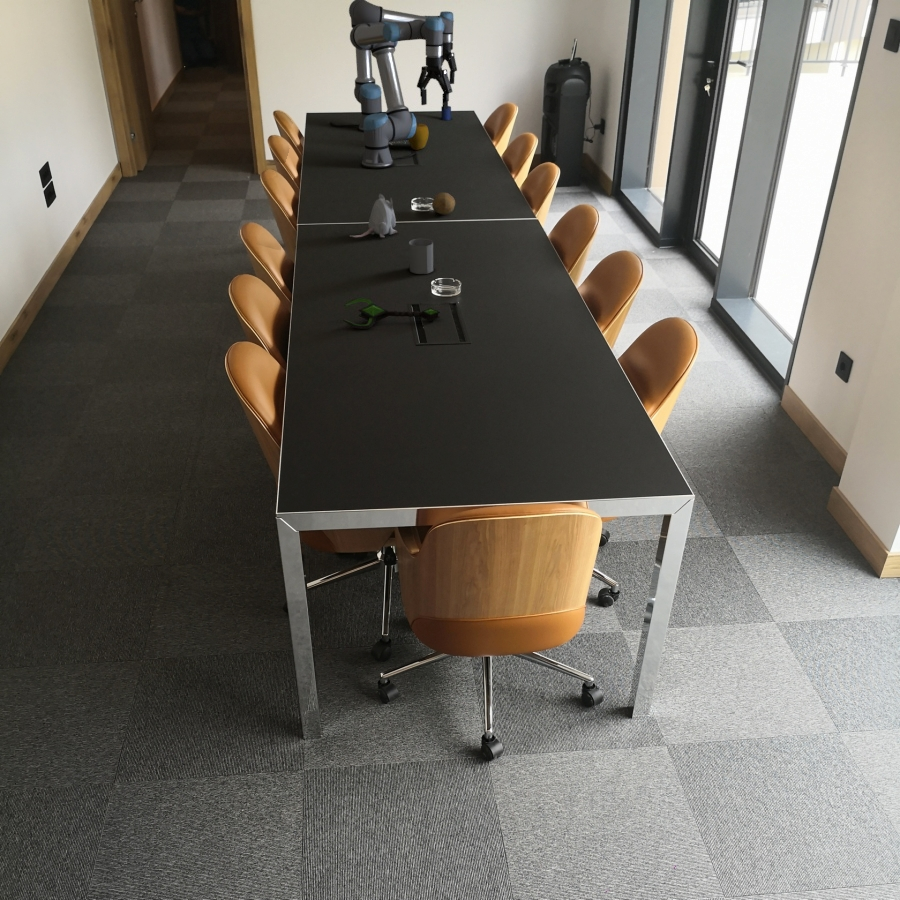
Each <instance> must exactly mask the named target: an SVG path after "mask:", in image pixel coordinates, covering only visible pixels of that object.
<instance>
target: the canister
mask: <svg viewBox="0 0 900 900" xmlns="http://www.w3.org/2000/svg"><path fill="white" fill-rule="evenodd" d="M440 109H441V120H442V121H451V120H452V106H450V105H448V109H444V110H443V105H442V106H441V108H440Z"/></svg>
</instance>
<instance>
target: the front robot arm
mask: <svg viewBox="0 0 900 900" xmlns="http://www.w3.org/2000/svg"><path fill="white" fill-rule="evenodd" d="M349 40H350V43H351V45H352V46H353V47H354V48H355V49H356V48H357V49H359V50H371V57H373V58H375V60H376V65H377V70H378V73H379V79H380V82H381V87H382V91H383V92H382V93H383V96H384V100H385V104H386V105H385V106H386V108H387V110H386V111H385V113H383V112H382V113H378V114H377V113H376V114H371V115H369V116H367V117H366V118H365V119H364V126H363V128H364V131H363V138H364V139H363V140H364V151H363V155H362V159H361V166H362V167H363V168H366V169H371V170H381V169H387V168H390V167H392V166H394V160H400V159H406V158H411V157H412V156H414V155H415V154H416V153H415V152H413V153H411V154H409V155H404V156H398V157H397V156H392V155H391V152H390V151H391V150H390V147H389V145H390V144H389V142H394V141H400V140H404V141H405V140H408V138H411V137H413V135H414V134H415V131H416V124H417V118H416V116H415V115H414V113H412V112H410V110H409V107H408V106H406V105H405V101H404V96H403V92H402V88H401V83H400V78H399V73H398V70H397V65H396V60H395V56H394V54H395V52H396V47H397V45H398V42H403V41H416V40H424V42H425V56H426V57H425V65H423V66H421V71H420V75H419V78H418V81H417V84H416V88H418V89H419V92H420V102H421V104H420V105H421V106H426V105H427V104H428V99H427V97H428V96H427V92H428V91H427V90H428V89H427V86H428V84H429V83H430V81H431V80H435V81H436V82H437V83H438V85H439V87H440V88H441V90H442V92H443V93H442V106H443V110H444V109H448V106H449V100H450V94H451V93H453V88H452V84H450V77H449V76H448V69H446V68H445V69H443V67H442V66H443V64H444V62H443V58H442V57H441V56H442V44H443V26H442V19H441V18H439V17H428V18H426V19H425V21H423V20H420V19H419V20H413V21H407V22H391V23H389V22H376V23H364V24H359V25H356V26H355V27H354V28H352V29H351V30H350V33H349ZM441 67H442V68H441ZM439 77H440V78H439Z"/></svg>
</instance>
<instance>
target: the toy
mask: <svg viewBox="0 0 900 900" xmlns="http://www.w3.org/2000/svg"><path fill="white" fill-rule="evenodd" d="M396 222H397V219H396V215H395V211H394V202H393V199H392V197H390V200H387V199H385V196H384V195H383V194H382V193H379V194H378V199H376V200H375V201H374V203H373V206H372V208H371V212H370V217H369V219H368V223H367V224H368V225H367V226H368V229H367V231H365V232H363V233H362V234H358V235H350V238H351V237H352V238H363V237H365V236H367V235H369V234H370V235H375V234H377V235H379V238H382V239H385V238H386V236H385V235H387V234H388V235H394V234H397V233H398V231H397V230H396V229H394V228H395V227H396V225H397V224H396Z"/></svg>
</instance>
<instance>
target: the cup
mask: <svg viewBox="0 0 900 900" xmlns="http://www.w3.org/2000/svg"><path fill="white" fill-rule="evenodd" d="M408 253H409V272H411V273H412V274H416V275H426V274H430V273H432V272H434V241H433V240H431V239H428V238H422V237H421V238H420V237H419V238H414V239H411V240H410V241H409V242H408Z"/></svg>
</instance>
